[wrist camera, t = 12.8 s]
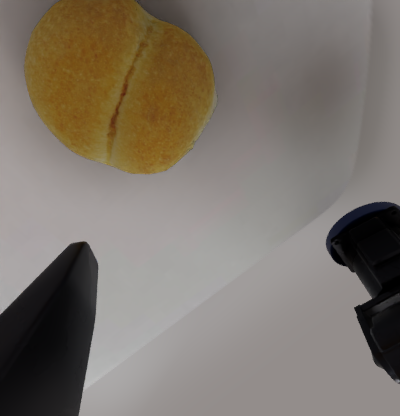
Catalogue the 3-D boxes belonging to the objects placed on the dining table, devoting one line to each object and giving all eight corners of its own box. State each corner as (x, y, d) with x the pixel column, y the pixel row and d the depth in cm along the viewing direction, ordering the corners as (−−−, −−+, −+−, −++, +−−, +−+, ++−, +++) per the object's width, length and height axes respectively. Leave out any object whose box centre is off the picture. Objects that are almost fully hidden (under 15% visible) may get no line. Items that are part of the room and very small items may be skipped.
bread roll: (57, -51, 13) (23, -57, 10) (233, 58, 16) (251, 80, 13) (20, 118, 17) (-12, 153, 14) (166, 177, 20) (167, 215, 17)
